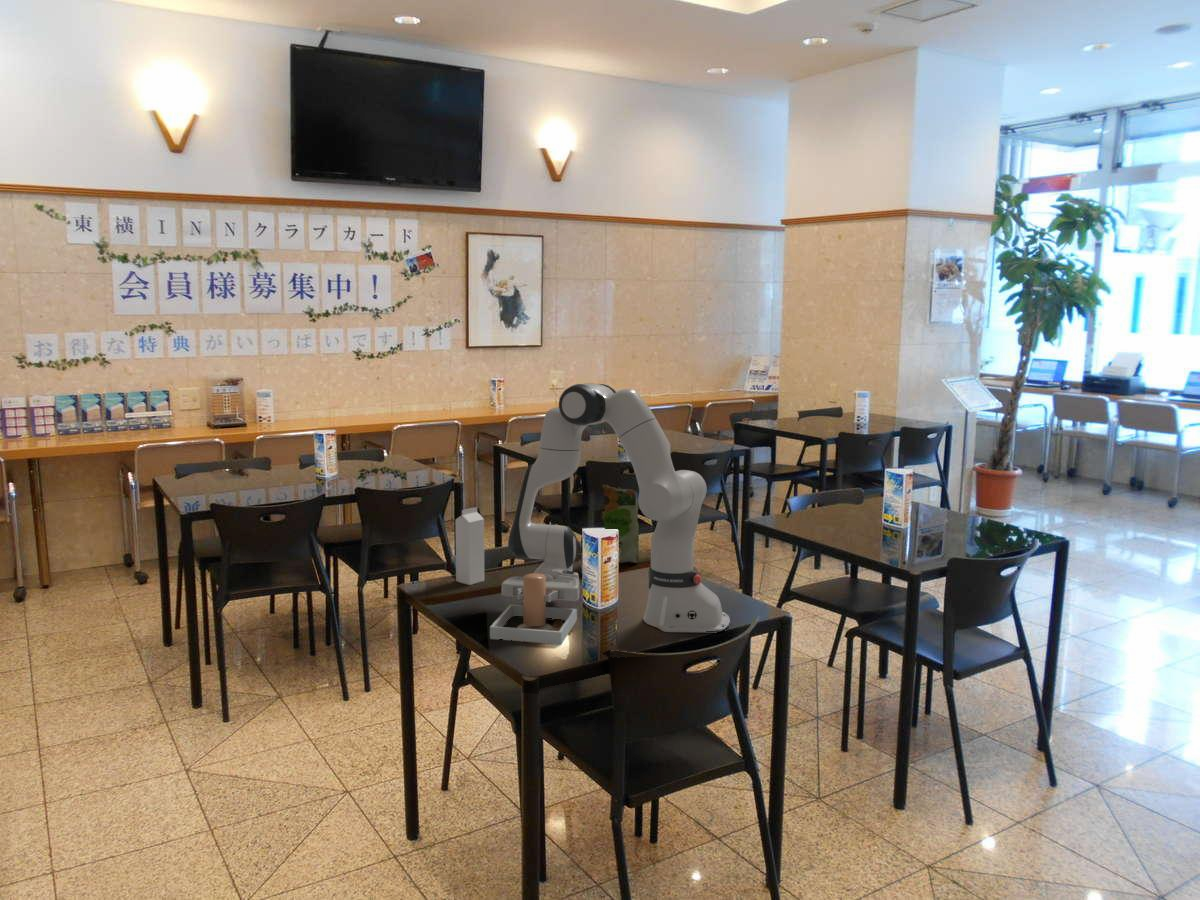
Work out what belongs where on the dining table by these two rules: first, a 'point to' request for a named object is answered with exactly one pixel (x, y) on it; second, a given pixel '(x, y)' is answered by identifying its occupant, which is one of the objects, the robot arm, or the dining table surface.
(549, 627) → the coaster
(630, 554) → the pouch
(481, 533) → the milk
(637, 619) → the dining table surface
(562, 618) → the white square frame
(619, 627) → the dining table surface
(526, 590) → the canister
